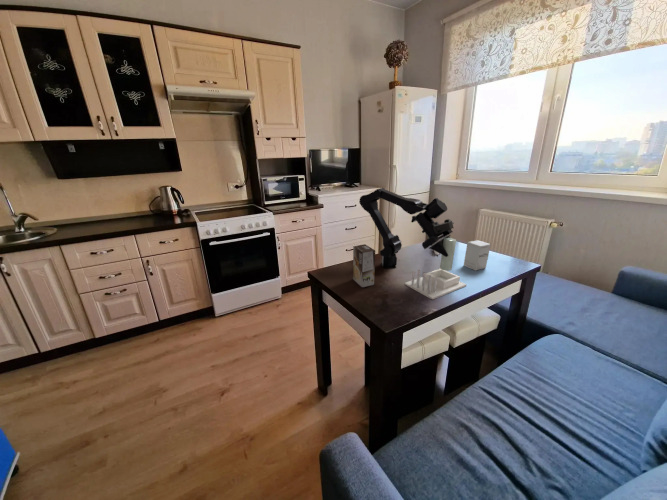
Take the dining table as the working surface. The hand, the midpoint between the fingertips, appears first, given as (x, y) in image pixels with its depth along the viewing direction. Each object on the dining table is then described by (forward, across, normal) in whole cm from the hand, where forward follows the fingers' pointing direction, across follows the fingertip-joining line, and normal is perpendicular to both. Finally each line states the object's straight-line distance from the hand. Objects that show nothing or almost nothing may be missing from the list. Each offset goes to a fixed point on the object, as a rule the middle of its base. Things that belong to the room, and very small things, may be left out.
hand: (449, 254), depth 114 cm
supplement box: (+12, +26, +7) cm, 30 cm away
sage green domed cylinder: (+4, 0, +5) cm, 7 cm away
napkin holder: (-3, +36, +23) cm, 43 cm away
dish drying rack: (+8, -5, +11) cm, 14 cm away
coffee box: (-10, -23, +30) cm, 38 cm away
